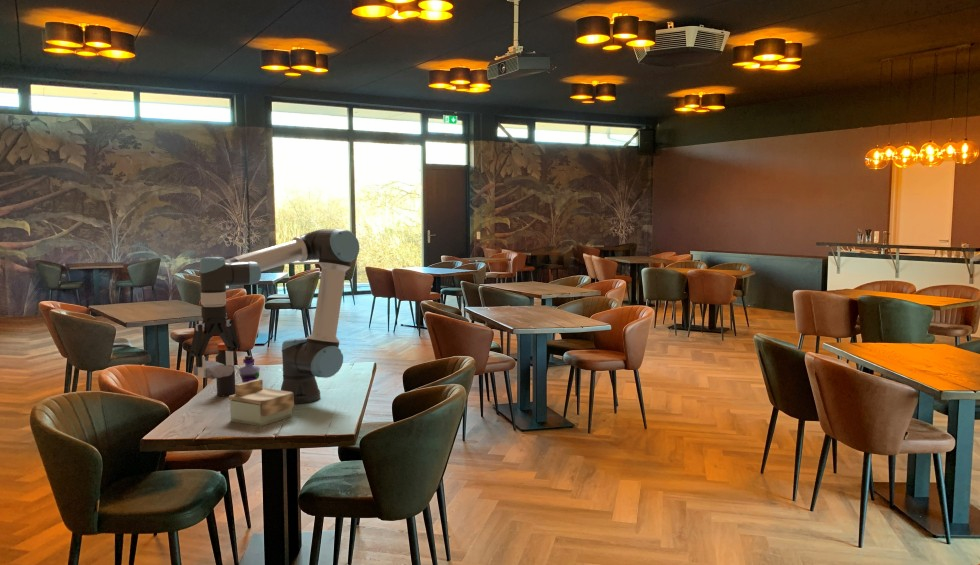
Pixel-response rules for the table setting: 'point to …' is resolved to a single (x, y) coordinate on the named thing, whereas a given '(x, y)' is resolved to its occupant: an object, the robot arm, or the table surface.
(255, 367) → the potion bottle
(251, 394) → the lid
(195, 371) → the stone block
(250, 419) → the cream box
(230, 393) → the vinegar
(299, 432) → the table surface
